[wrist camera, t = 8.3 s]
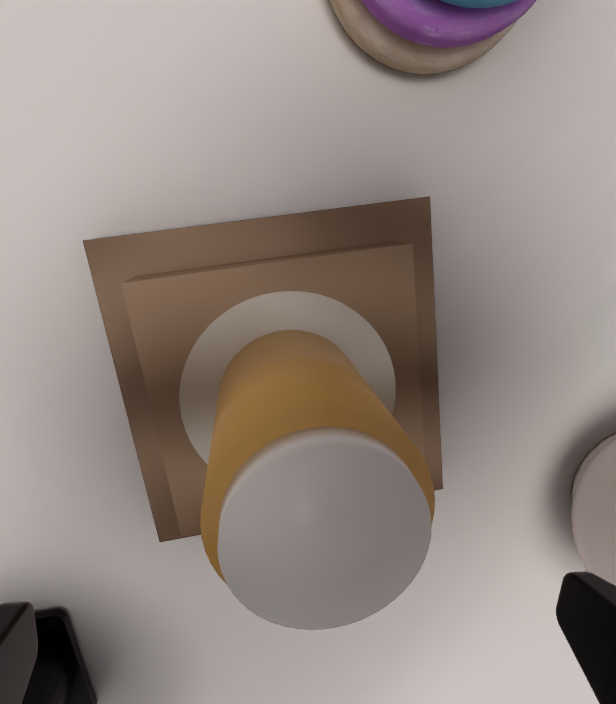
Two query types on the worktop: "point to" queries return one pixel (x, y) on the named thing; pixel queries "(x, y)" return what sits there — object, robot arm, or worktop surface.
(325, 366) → the amber jar
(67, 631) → the robot arm
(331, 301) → the walnut plinth
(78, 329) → the worktop surface
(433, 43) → the stacking toy
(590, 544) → the lidded jar
